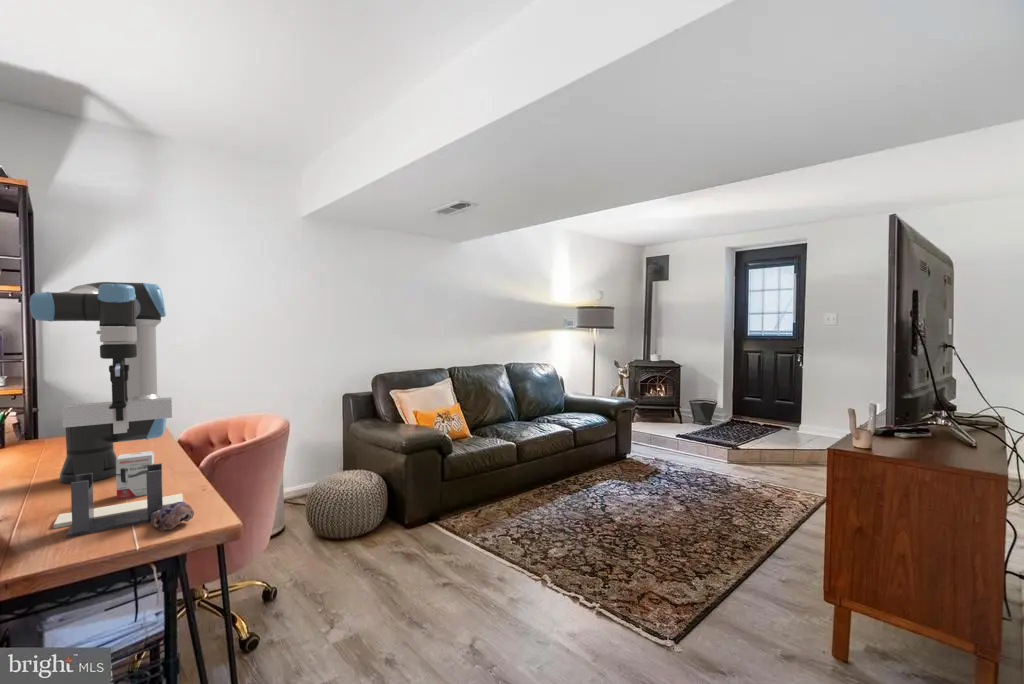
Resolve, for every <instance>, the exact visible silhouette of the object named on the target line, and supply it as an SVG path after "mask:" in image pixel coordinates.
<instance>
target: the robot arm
mask: <svg viewBox="0 0 1024 684" xmlns="http://www.w3.org/2000/svg"><path fill="white" fill-rule="evenodd" d="M162 291H163V290H162V288H161V286H159V285H158V284H155V283H146V282H119V281H118V282H116V281H115V282H113V281H99V282H92V283H86V284H80V285H76V286H74V287H72V288H71V289H69V290H67V291H62V292H61V291H60V292H50V291H44V292H42V291H41V292H39V291H38V292H34V293H32V294H31V295H30V300H29V311H30V315H31V317H32V319H34V320H35V321H39V322H41V321H42V322H78V321H79V322H82V321H83V322H84V321H85V322H99V324H98V325H99V330H96V332H95V333H96V335H99V342H100V343H103V344H100V345H99V357H100V358H101V359H104V360H105V359H106V360H108V359H110V360H111V359H112V364H110V365H109V366H108V371H109V373H110V374H109V376H110V377H109V379H110V381H109V382H111V402H112V406H109V409H113V423H109V424H98V425H87V426H77V427H66V428H65V441H66V442H65V444H66V445H65V447H66V449H65V450H66V457H65V460H64V462H63V465H62V468H61V470H60V473H59V482H60V483H62V484H71V482H76V475H80V474H87V473H92V477H93V482H94V481H100V480H105V479H109V478H112V477H114V476H116V459H117V457H118V456H117V455H116V453H115V451H114V443H121V442H123V443H124V442H132V441H133V442H134V441H141V440H145V441H147V440H150V439H156V438H157V439H158V438H160V437H162V436H163V435H164V433H165V430H166V423H167V419H168V418H163V419H152V420H141V421H130V422H127V412H126V403H125V401H128V400H141V399H155V398H162V397H161V396H159V394H158V380H157V379H158V372H157V371H158V370H157V369H158V368H157V367H158V366H157V362H158V361H157V330H156V329H157V326H158V325H159V324H161V323H162V318H165V317H166V315H167V312H166V307H165V302H164V301H165V300H164V295H163V292H162Z"/></svg>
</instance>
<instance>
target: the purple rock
mask: <svg viewBox="0 0 1024 684" xmlns="http://www.w3.org/2000/svg"><path fill="white" fill-rule="evenodd" d="M194 516H195V511H194V510H193V508H192V506H191V505H190V504H189V503H187V502H185V501H183V502H176V503H173V504H170V505H168V506H166V507H164V508H163V509H161V510H158V511H155V512H153V513H152V514H151V522H150V523H151V524H152V525H153V527H154V528H157V529H159V531H167V530H173V529H174V528H175V527H176V526H178V525H180V524H181V523H182V522H189V521H191V520H192V519H193V518H194Z"/></svg>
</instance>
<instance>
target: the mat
mask: <svg viewBox="0 0 1024 684" xmlns="http://www.w3.org/2000/svg"><path fill="white" fill-rule="evenodd" d="M176 502H184V497H183V493H178V494H172V495H167V496H163V507H164V506H168V505H170V504H173V503H176ZM93 508H94V507H93ZM142 510H147V499H142V500H137V501H131V502H125V503H117V504H112V505H107V506H106V505H105V506H100V507H95V508H94V519H97V518H103V517H109V516H114V515H120V514H125V513H131V512H136V511H142ZM71 525H72V511H71V512H66V513H59V514H58V516H57V518H56V520H55V521H54V523H53V529H58V528H64V527H71Z"/></svg>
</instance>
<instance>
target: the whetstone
mask: <svg viewBox="0 0 1024 684" xmlns="http://www.w3.org/2000/svg"><path fill="white" fill-rule="evenodd" d="M125 403H126V412H127V422H130V421H141V420H152V419H163V418H167V419H170V418H173V413H172V411H173V409H172V406H173V405H172V403H173V402H172V397H171V396H170V397H161V398H155V399H141V400H128V401H125ZM109 406H112V401H101V402H88V403H77V404H76V403H75V404H65V405H64V406H62V407H61V413H62V414H61V415H62V418H61V419H62V428H63V429H66V427H77V426H87V425H98V424H109V423H113V409H109Z"/></svg>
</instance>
